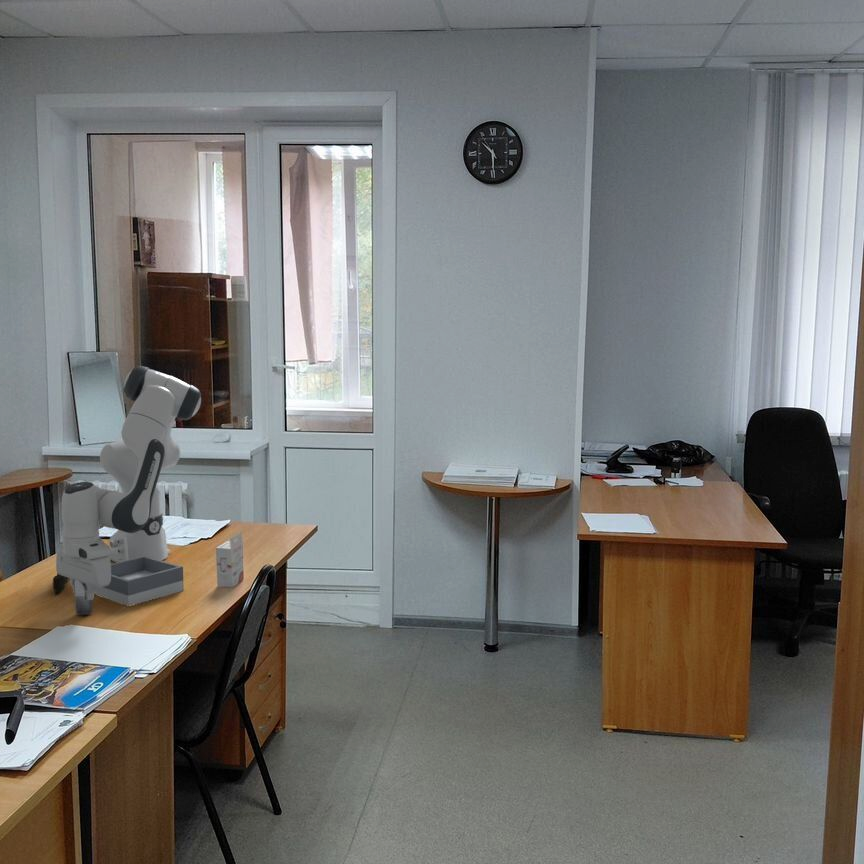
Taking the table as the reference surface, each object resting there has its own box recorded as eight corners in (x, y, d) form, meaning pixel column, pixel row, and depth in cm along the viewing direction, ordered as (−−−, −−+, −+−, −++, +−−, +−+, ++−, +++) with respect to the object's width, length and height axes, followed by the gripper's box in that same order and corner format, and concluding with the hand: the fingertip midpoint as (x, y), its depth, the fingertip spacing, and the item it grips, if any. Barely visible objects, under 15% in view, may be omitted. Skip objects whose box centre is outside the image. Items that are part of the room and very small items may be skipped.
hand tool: (60, 577, 270) (59, 562, 269) (74, 576, 270) (73, 561, 270) (45, 597, 251) (44, 581, 251) (60, 596, 252) (59, 580, 251)
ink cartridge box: (228, 578, 269) (227, 530, 267) (244, 579, 268) (243, 531, 266) (216, 586, 261) (214, 537, 259) (232, 588, 260) (231, 538, 258)
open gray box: (90, 593, 254) (89, 569, 253) (145, 578, 268) (144, 555, 267) (128, 606, 243) (127, 581, 242) (183, 590, 257) (183, 566, 256)
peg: (73, 612, 236) (71, 579, 235) (87, 608, 239) (85, 575, 238) (81, 615, 233) (80, 582, 232) (95, 611, 237) (94, 578, 235)
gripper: (48, 541, 237) (50, 591, 239) (92, 554, 225) (94, 608, 227) (70, 536, 242) (72, 586, 244) (114, 549, 230) (116, 601, 232)
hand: (83, 597), depth 236 cm, fingers closed on peg, 4 cm apart
